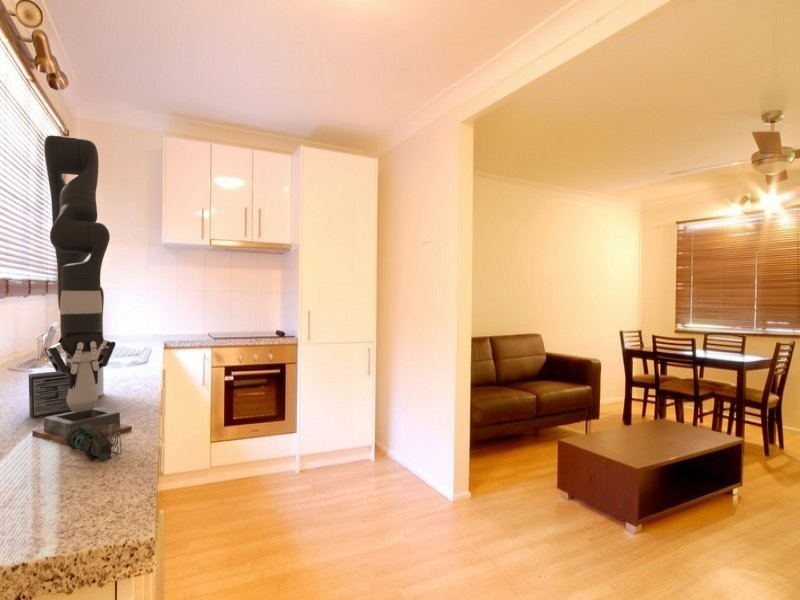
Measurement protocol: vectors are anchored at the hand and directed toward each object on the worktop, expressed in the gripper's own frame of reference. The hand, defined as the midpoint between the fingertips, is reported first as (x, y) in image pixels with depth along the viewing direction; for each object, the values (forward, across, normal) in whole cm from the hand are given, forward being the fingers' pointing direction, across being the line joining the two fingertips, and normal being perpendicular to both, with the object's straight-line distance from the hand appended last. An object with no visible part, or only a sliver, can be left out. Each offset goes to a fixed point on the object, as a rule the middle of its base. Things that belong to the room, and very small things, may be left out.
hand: (82, 388), depth 98 cm
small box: (+10, -6, -24) cm, 27 cm away
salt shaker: (+5, 0, 0) cm, 5 cm away
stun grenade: (+10, +6, +15) cm, 19 cm away
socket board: (+10, 0, 0) cm, 10 cm away
